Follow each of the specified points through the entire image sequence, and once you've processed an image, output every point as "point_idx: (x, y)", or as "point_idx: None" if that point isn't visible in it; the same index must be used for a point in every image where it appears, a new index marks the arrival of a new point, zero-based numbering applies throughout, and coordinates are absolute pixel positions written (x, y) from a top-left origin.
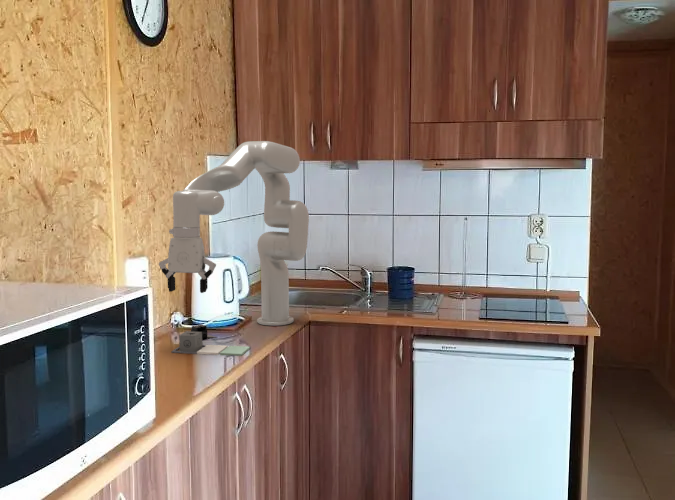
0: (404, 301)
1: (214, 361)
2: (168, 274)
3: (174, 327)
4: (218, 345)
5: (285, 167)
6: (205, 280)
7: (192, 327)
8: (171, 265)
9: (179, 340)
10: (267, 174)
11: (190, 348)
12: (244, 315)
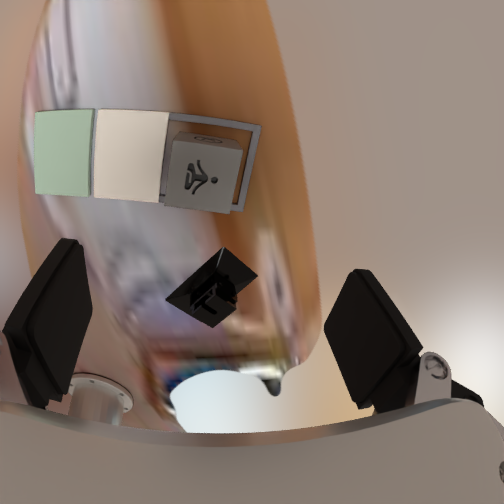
0: None
1: (99, 40)
2: (438, 381)
3: (295, 360)
4: (121, 197)
5: None
6: (4, 332)
7: (232, 304)
8: (490, 464)
9: (240, 147)
10: None
11: (196, 135)
12: (177, 421)
